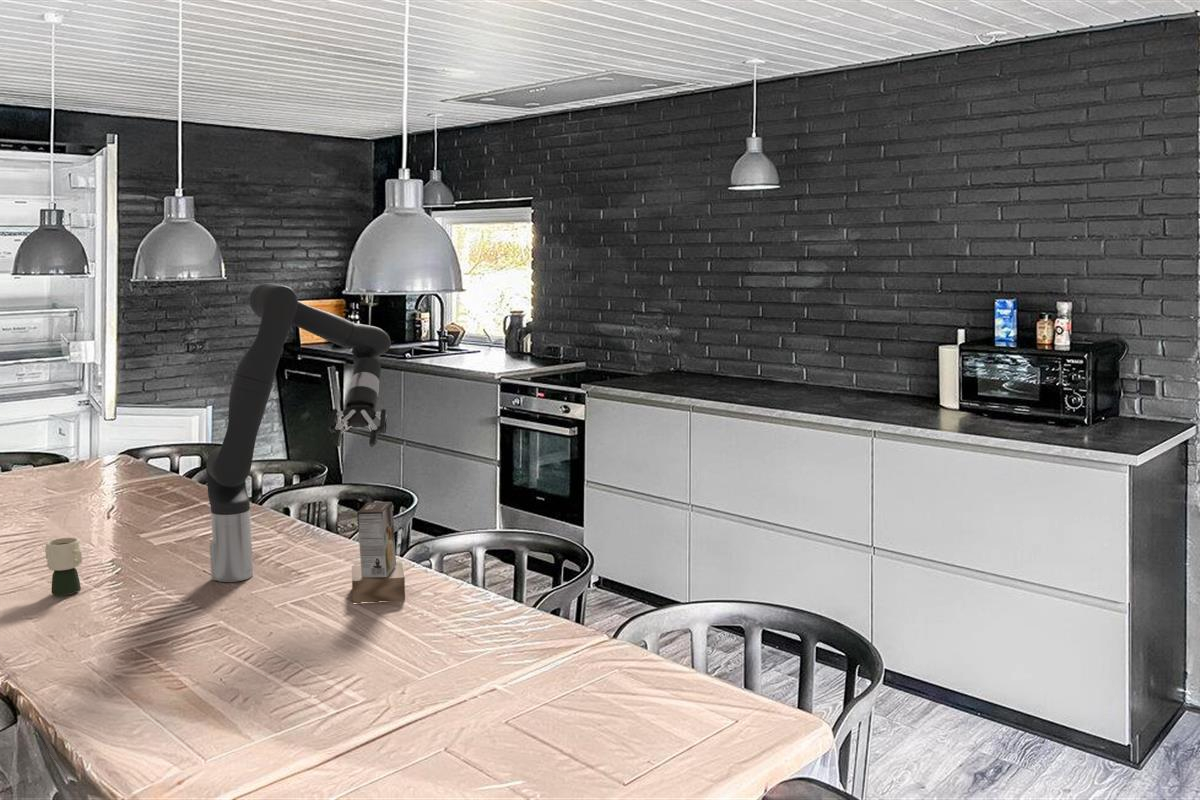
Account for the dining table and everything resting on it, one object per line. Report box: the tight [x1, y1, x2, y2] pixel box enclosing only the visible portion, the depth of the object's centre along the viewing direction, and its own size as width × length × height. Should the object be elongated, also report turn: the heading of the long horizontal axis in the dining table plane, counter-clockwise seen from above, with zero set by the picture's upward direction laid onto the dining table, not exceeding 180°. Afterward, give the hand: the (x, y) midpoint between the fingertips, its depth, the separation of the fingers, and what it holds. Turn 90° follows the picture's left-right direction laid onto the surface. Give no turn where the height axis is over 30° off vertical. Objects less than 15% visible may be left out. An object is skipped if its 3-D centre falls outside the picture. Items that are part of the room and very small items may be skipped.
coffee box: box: [356, 501, 397, 578], centre depth 247 cm, size 9×6×16 cm
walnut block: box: [351, 562, 406, 604], centre depth 249 cm, size 12×12×6 cm
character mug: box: [45, 536, 83, 596], centre depth 249 cm, size 11×7×13 cm, turn 70°
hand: (354, 444), depth 262 cm, fingers open, 8 cm apart
